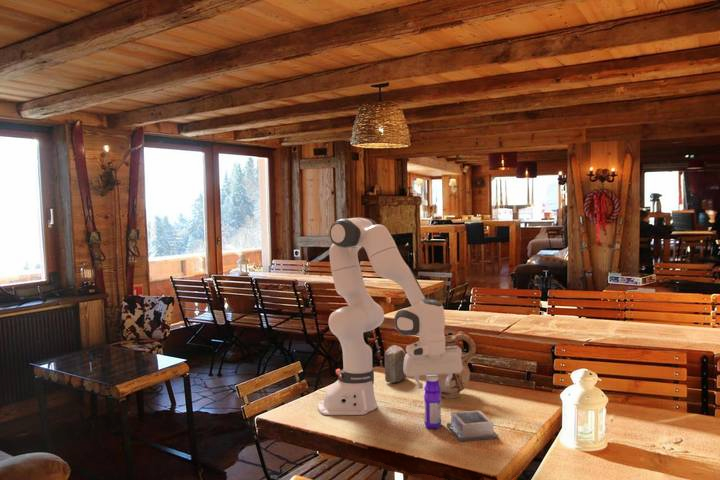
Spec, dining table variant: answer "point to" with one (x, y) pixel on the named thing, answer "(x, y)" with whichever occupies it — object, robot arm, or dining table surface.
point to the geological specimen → (394, 364)
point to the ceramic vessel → (458, 379)
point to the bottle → (432, 402)
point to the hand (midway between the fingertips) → (433, 387)
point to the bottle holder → (471, 426)
